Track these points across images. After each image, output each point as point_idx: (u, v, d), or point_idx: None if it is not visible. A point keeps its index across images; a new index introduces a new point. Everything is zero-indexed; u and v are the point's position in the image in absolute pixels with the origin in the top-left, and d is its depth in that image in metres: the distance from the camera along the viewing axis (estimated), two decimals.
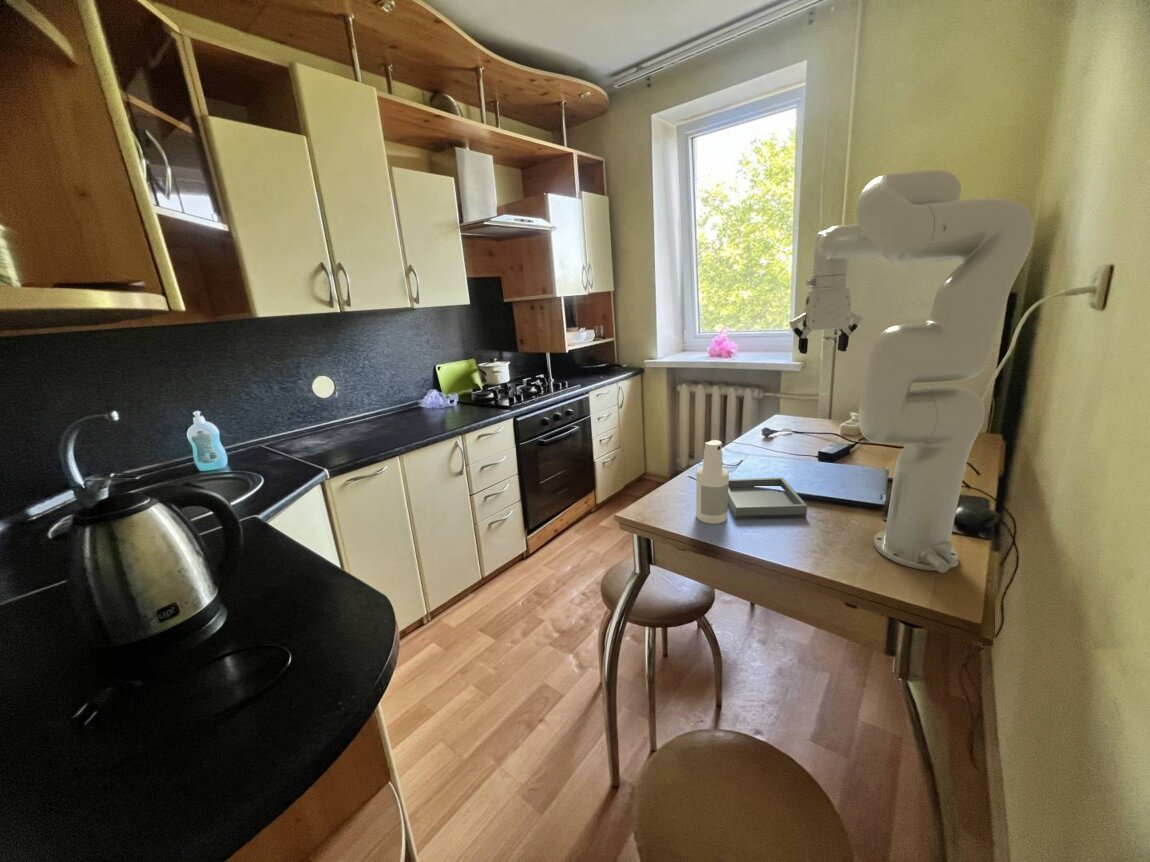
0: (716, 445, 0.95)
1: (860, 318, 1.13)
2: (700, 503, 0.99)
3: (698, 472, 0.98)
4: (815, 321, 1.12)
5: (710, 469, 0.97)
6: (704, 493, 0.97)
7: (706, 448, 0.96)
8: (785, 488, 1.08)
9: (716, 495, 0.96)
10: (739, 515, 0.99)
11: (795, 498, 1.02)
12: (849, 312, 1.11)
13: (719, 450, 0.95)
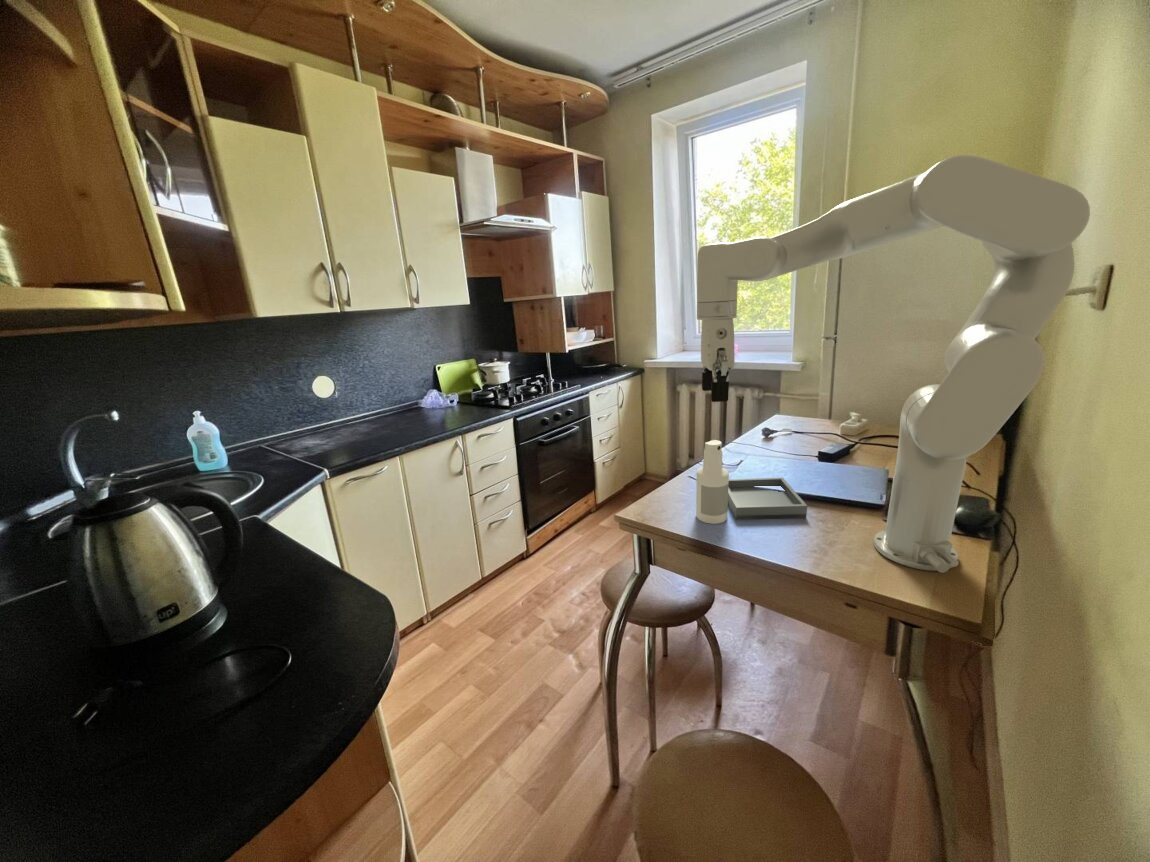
0: (716, 445, 0.95)
1: None
2: (700, 503, 0.99)
3: (698, 472, 0.98)
4: None
5: (710, 469, 0.97)
6: (704, 493, 0.97)
7: (706, 448, 0.96)
8: (785, 488, 1.08)
9: (716, 495, 0.96)
10: (739, 515, 0.99)
11: (795, 498, 1.02)
12: None
13: (719, 450, 0.95)
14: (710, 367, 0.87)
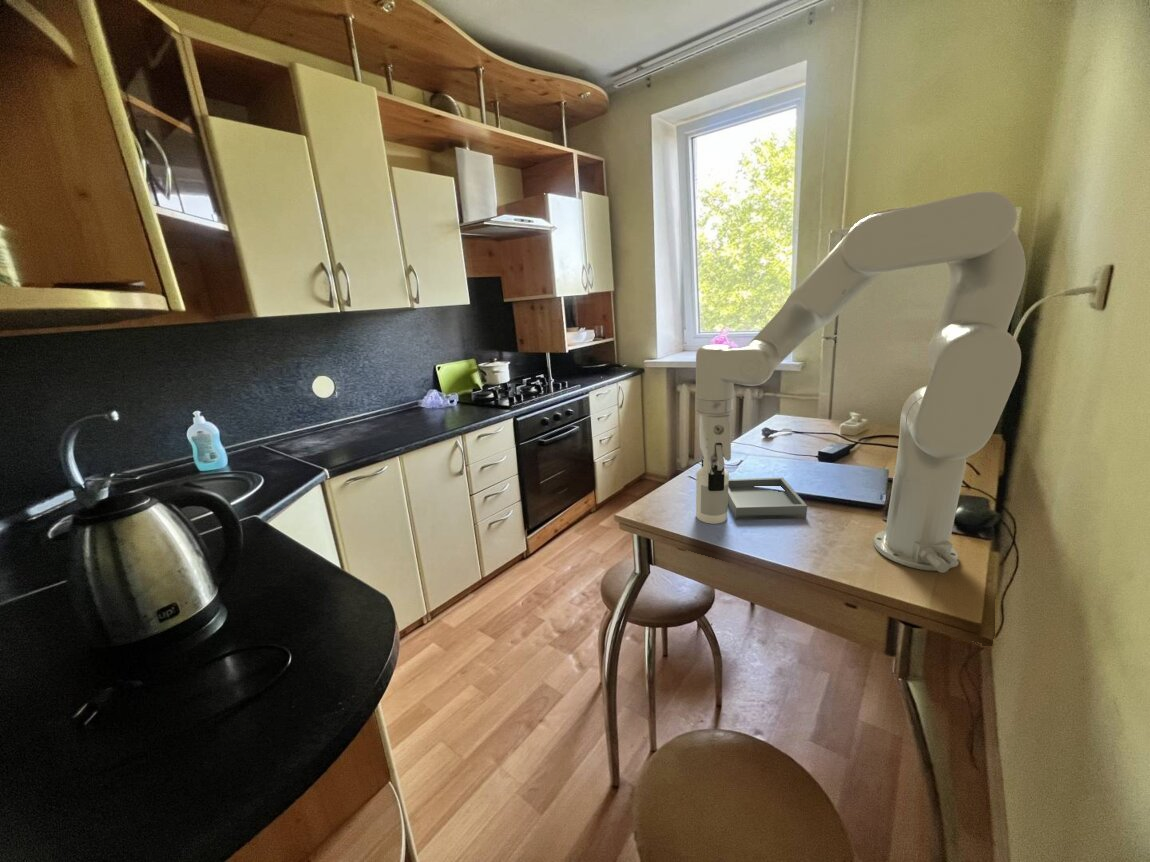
0: None
1: None
2: (700, 503, 0.99)
3: (698, 472, 0.98)
4: None
5: None
6: (704, 493, 0.97)
7: None
8: (785, 488, 1.08)
9: (716, 495, 0.96)
10: (739, 515, 0.99)
11: (795, 498, 1.02)
12: None
13: None
14: (708, 459, 0.93)
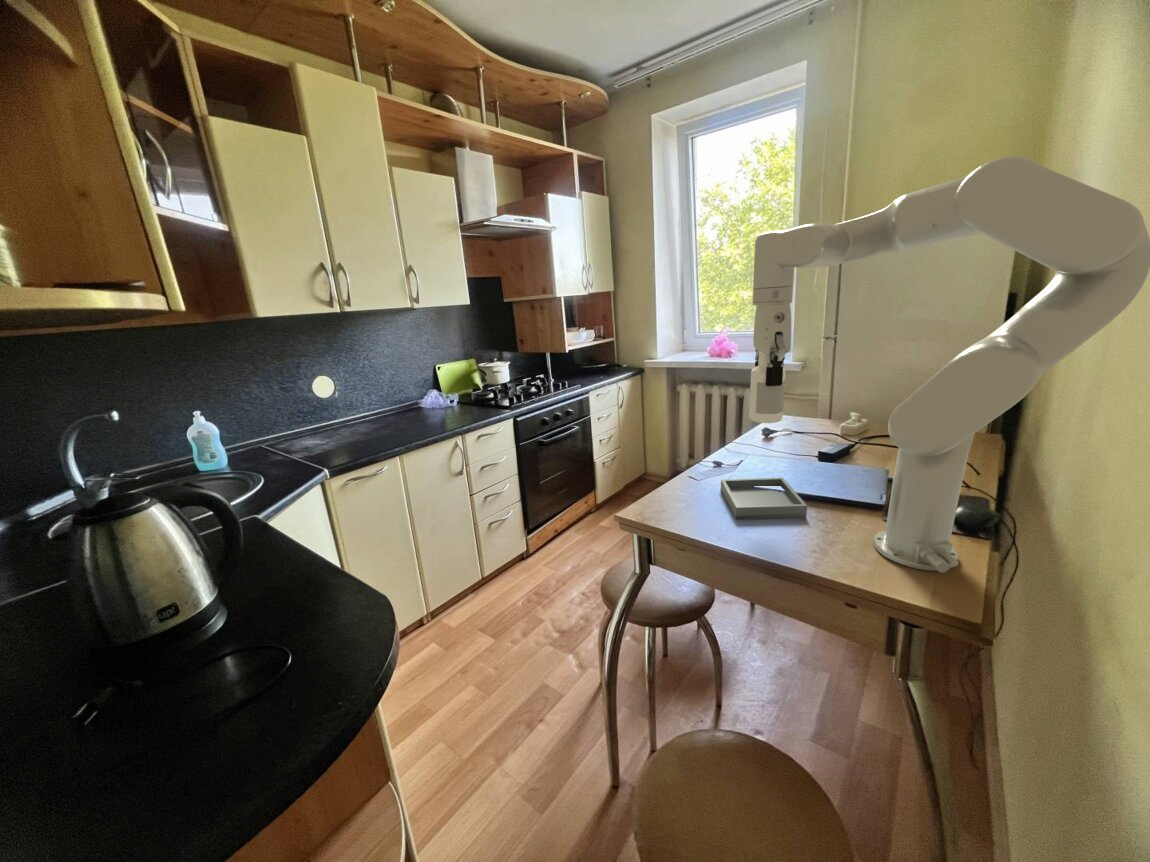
0: None
1: None
2: (755, 402, 0.97)
3: (753, 370, 0.96)
4: None
5: (767, 365, 0.95)
6: (760, 390, 0.95)
7: None
8: (785, 488, 1.08)
9: (773, 391, 0.95)
10: (739, 515, 0.99)
11: (795, 498, 1.02)
12: None
13: None
14: (767, 350, 0.91)
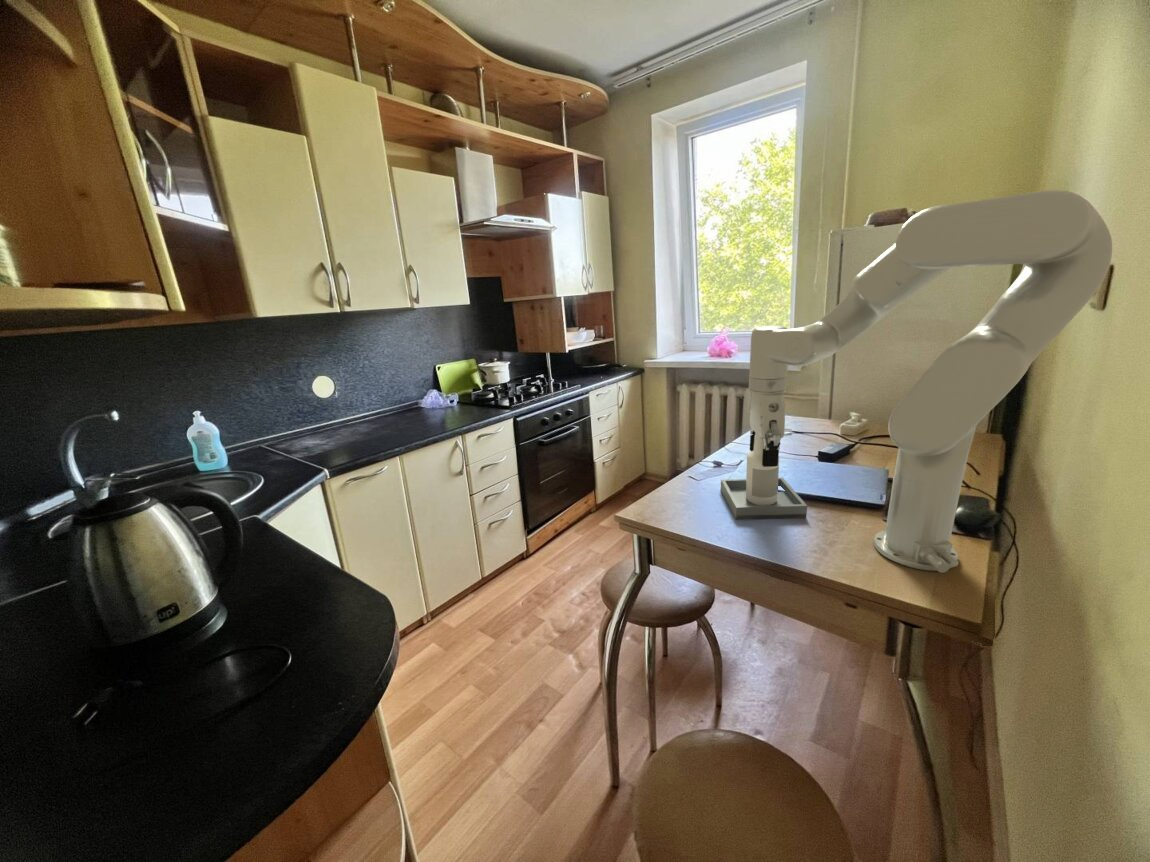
0: None
1: None
2: (751, 485, 1.03)
3: (749, 456, 1.02)
4: None
5: (762, 452, 1.00)
6: (756, 476, 1.01)
7: None
8: (785, 488, 1.08)
9: (768, 477, 1.00)
10: (739, 515, 0.99)
11: (795, 498, 1.02)
12: None
13: (770, 434, 0.99)
14: (762, 436, 0.97)
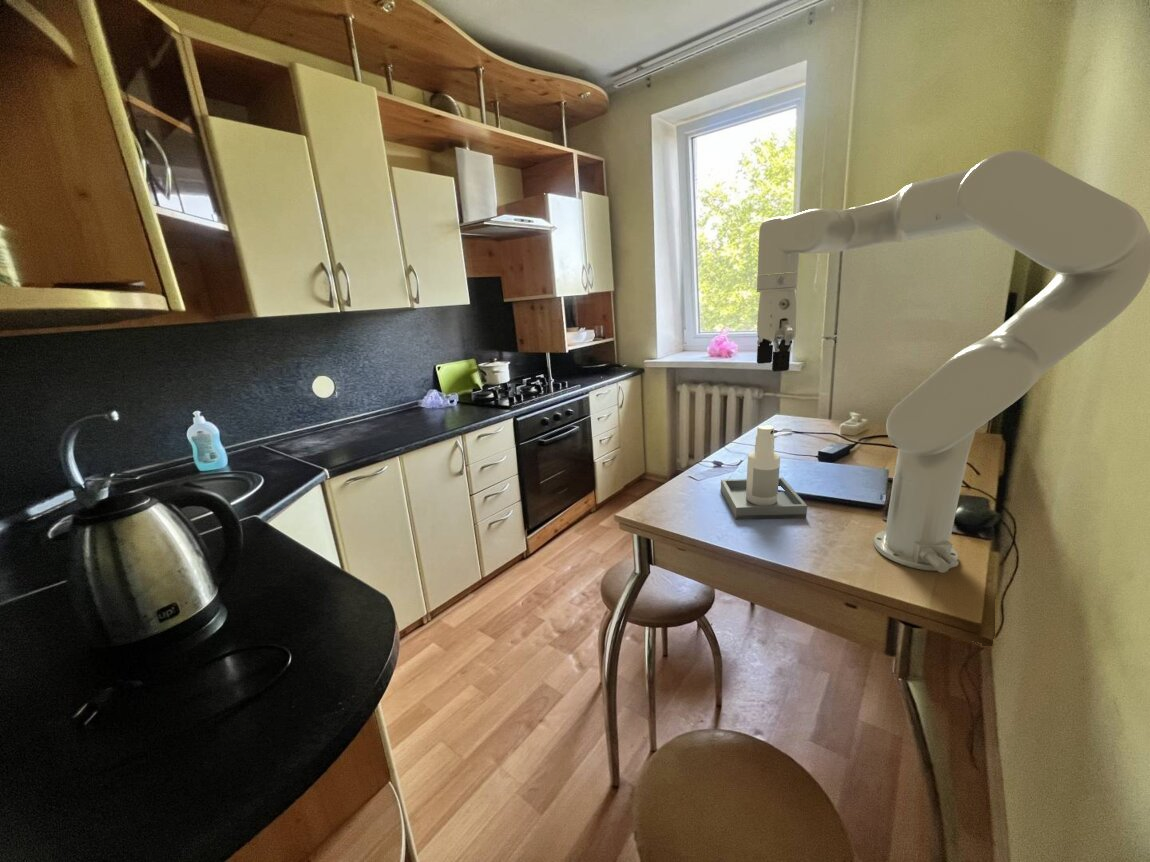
0: (769, 429, 0.99)
1: None
2: (752, 485, 1.03)
3: (750, 456, 1.02)
4: None
5: (763, 453, 1.00)
6: (756, 476, 1.01)
7: (759, 432, 1.00)
8: (785, 488, 1.08)
9: (769, 478, 1.00)
10: (739, 515, 0.99)
11: (795, 498, 1.02)
12: None
13: (772, 434, 0.99)
14: (772, 337, 0.91)
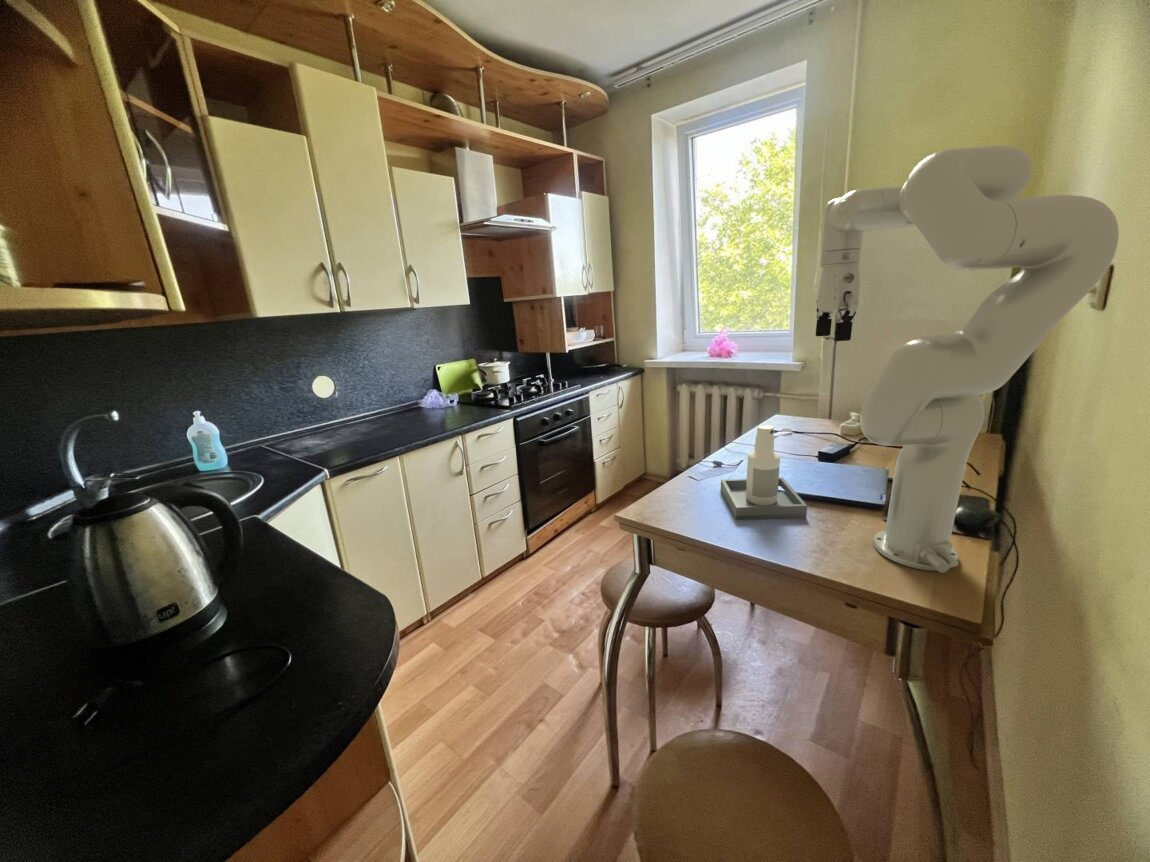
0: (769, 429, 0.99)
1: None
2: (752, 485, 1.03)
3: (750, 456, 1.02)
4: None
5: (763, 452, 1.01)
6: (756, 475, 1.01)
7: (759, 432, 1.00)
8: (785, 488, 1.08)
9: (768, 477, 1.01)
10: (739, 515, 0.99)
11: (795, 498, 1.02)
12: None
13: (771, 434, 1.00)
14: (836, 309, 0.98)
